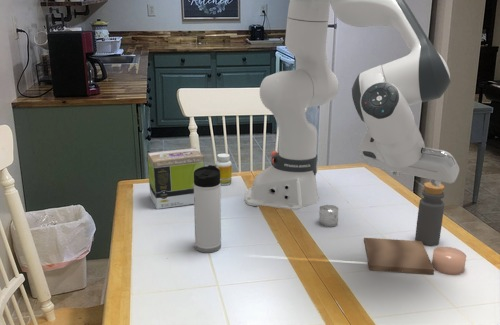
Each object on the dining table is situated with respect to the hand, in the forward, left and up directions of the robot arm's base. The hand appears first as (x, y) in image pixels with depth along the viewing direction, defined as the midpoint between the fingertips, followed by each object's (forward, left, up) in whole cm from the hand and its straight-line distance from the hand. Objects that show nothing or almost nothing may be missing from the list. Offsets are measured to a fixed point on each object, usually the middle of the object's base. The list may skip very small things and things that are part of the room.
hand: (416, 178), depth 114 cm
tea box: (-62, +27, -20) cm, 71 cm away
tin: (-18, +16, -20) cm, 31 cm away
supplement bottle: (-51, +44, -20) cm, 71 cm away
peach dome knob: (+9, -3, -20) cm, 22 cm away
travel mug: (-47, -1, -20) cm, 51 cm away
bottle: (+7, +10, -20) cm, 23 cm away
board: (-2, 0, -20) cm, 20 cm away
